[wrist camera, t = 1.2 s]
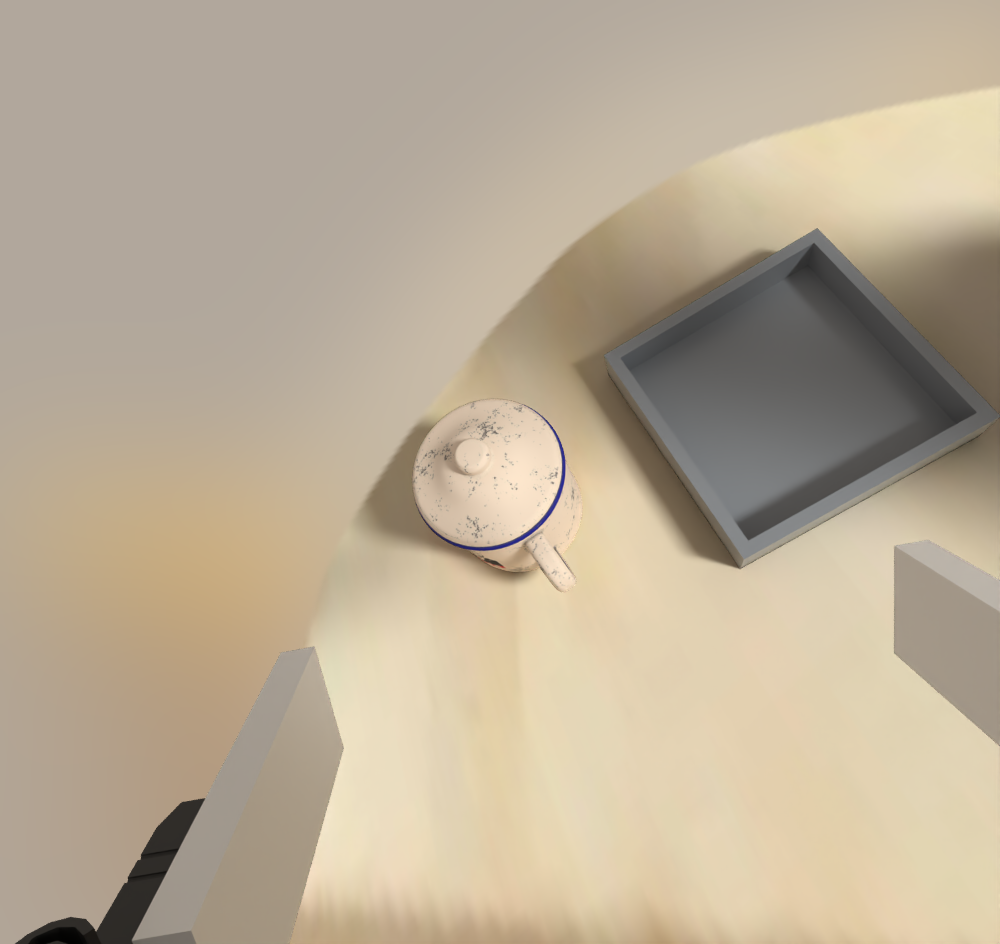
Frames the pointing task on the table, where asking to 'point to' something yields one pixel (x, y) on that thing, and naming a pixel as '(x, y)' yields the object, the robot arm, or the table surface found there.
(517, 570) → the teacup with lid
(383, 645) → the table surface
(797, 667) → the table surface
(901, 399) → the tray
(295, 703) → the robot arm
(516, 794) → the table surface
